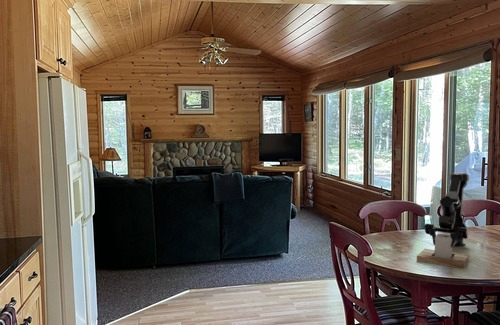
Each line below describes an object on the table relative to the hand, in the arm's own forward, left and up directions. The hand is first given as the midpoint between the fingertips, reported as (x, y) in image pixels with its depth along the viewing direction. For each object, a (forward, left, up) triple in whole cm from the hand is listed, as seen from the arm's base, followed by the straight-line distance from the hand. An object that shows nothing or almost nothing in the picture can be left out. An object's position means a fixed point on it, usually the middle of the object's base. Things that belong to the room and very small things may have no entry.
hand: (442, 245), depth 198 cm
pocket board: (-1, -1, -7) cm, 7 cm away
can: (-1, -1, -7) cm, 7 cm away
